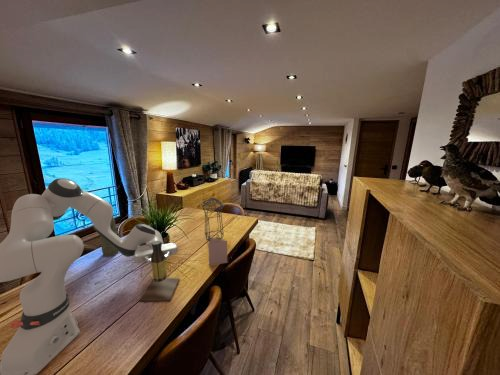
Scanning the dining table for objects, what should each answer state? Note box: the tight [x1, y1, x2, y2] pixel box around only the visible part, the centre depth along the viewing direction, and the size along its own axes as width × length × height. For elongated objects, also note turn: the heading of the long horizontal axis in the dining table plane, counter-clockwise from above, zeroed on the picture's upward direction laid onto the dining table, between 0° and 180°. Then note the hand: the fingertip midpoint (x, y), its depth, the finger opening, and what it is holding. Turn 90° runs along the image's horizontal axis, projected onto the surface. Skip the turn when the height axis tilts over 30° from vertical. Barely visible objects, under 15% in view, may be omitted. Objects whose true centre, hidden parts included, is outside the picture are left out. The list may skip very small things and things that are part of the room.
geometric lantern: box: [200, 197, 226, 243], centre depth 148 cm, size 16×16×35 cm
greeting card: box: [208, 237, 228, 266], centre depth 121 cm, size 11×7×15 cm, turn 74°
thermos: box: [100, 202, 120, 258], centre depth 127 cm, size 9×12×35 cm
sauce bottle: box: [151, 241, 168, 282], centre depth 96 cm, size 6×6×20 cm
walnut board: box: [139, 277, 180, 303], centre depth 99 cm, size 15×14×1 cm
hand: (158, 260), depth 95 cm, fingers closed on sauce bottle, 6 cm apart
